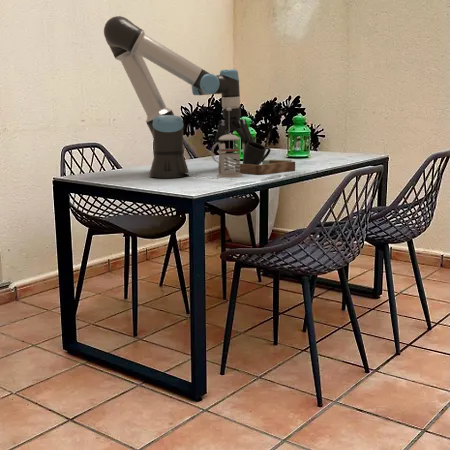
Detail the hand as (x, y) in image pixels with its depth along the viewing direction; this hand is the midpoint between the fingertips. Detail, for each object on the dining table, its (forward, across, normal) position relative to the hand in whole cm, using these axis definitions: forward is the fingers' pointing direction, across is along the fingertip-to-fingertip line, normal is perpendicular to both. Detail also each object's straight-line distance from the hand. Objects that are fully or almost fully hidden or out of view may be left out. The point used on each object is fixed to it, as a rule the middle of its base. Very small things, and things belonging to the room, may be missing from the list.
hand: (234, 159), depth 266 cm
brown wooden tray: (+4, -20, +4) cm, 21 cm away
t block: (+5, -12, -15) cm, 20 cm away
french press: (+4, -20, +24) cm, 31 cm away
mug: (+3, -10, 0) cm, 10 cm away
